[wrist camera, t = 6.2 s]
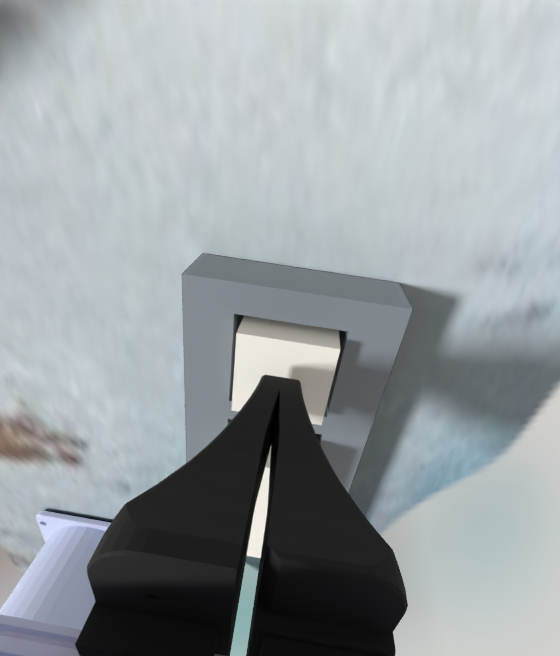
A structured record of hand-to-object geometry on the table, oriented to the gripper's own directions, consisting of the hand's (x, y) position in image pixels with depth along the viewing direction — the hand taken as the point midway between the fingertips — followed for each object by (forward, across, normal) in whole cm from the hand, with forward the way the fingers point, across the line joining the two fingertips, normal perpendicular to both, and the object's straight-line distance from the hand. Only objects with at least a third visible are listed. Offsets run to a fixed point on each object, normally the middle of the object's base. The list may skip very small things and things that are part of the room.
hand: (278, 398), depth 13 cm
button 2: (+4, 0, 0) cm, 4 cm away
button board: (+4, 0, +5) cm, 7 cm away
